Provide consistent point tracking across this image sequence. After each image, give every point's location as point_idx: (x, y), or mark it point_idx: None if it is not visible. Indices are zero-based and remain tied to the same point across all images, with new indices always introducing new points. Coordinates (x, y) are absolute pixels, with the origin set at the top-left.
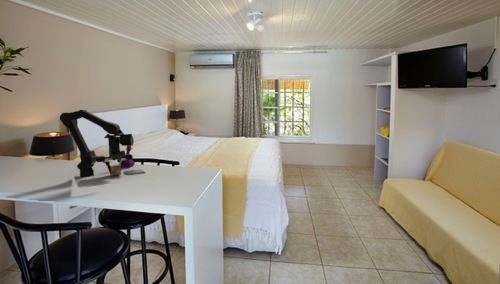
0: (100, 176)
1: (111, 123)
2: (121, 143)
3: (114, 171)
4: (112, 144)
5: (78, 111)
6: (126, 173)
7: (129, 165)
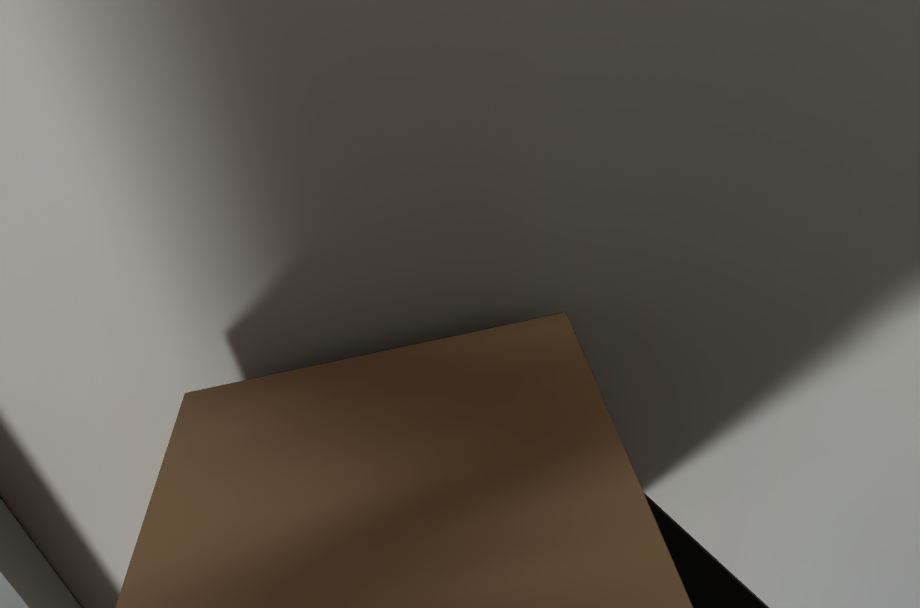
0: (881, 444)
1: None
2: None
3: (457, 460)
4: None
5: None
6: (7, 553)
7: None
